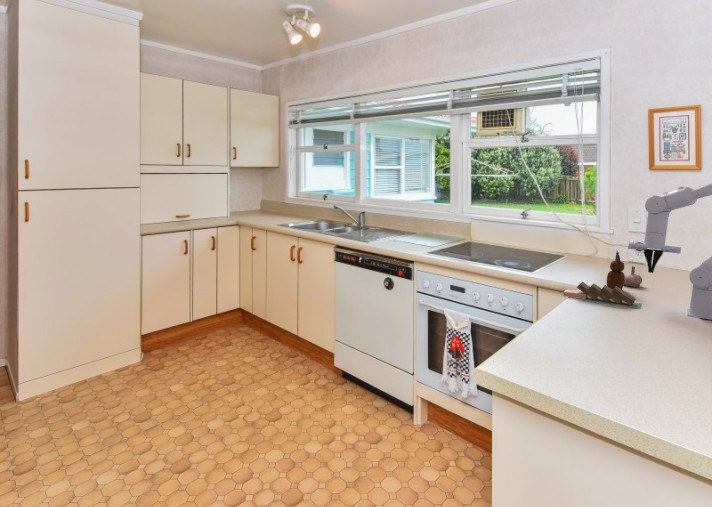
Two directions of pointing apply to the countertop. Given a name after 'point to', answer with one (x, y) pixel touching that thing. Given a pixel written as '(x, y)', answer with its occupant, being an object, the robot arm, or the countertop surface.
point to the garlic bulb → (633, 279)
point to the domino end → (575, 294)
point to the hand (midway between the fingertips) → (650, 272)
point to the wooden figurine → (616, 273)
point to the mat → (611, 302)
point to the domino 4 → (623, 295)
